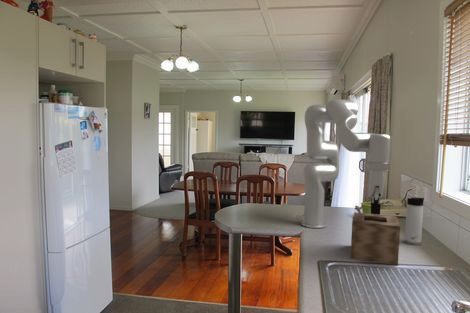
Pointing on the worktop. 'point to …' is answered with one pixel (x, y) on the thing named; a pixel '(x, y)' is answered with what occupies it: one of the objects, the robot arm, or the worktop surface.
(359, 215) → the box
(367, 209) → the plant pot
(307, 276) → the worktop surface
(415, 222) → the travel mug
